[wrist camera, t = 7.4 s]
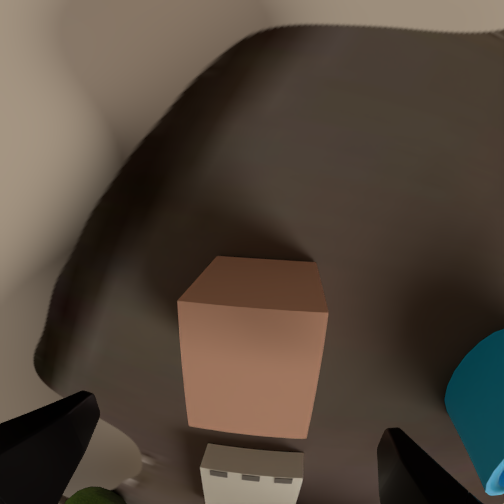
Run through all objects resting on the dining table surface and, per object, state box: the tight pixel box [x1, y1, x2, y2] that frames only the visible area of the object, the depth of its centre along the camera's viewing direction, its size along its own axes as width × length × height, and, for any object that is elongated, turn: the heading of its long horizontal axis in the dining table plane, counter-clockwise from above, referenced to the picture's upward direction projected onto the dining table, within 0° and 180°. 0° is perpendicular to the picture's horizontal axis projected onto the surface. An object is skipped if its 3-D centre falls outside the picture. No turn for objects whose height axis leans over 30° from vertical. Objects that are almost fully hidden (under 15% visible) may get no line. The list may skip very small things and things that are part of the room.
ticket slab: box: [200, 443, 304, 504], centre depth 19 cm, size 10×7×3 cm
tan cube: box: [177, 256, 329, 439], centre depth 14 cm, size 6×5×6 cm
